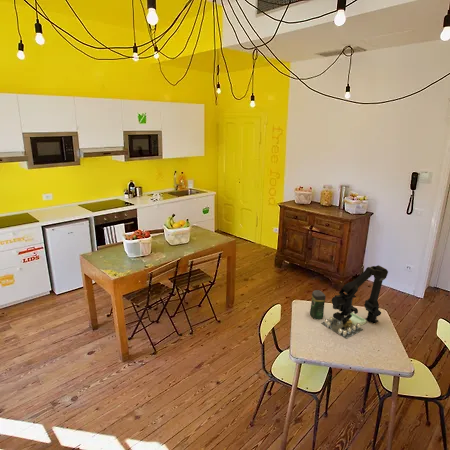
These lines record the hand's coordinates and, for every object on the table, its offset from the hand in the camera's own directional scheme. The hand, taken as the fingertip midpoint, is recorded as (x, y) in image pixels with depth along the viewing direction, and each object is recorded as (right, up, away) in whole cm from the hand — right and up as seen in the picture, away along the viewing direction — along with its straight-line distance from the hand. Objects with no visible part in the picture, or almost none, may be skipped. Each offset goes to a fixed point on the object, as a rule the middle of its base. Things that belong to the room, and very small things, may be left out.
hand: (343, 324), depth 222 cm
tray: (+9, 0, +7) cm, 12 cm away
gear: (+3, 0, +2) cm, 4 cm away
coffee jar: (-15, +2, +11) cm, 19 cm away
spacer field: (-2, -2, -1) cm, 2 cm away
